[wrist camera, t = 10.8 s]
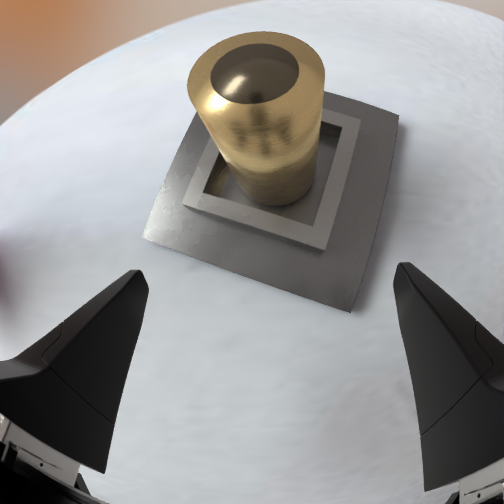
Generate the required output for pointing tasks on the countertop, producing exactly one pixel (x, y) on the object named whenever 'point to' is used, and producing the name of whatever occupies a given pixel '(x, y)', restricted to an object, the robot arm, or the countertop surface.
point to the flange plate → (285, 208)
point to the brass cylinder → (262, 111)
